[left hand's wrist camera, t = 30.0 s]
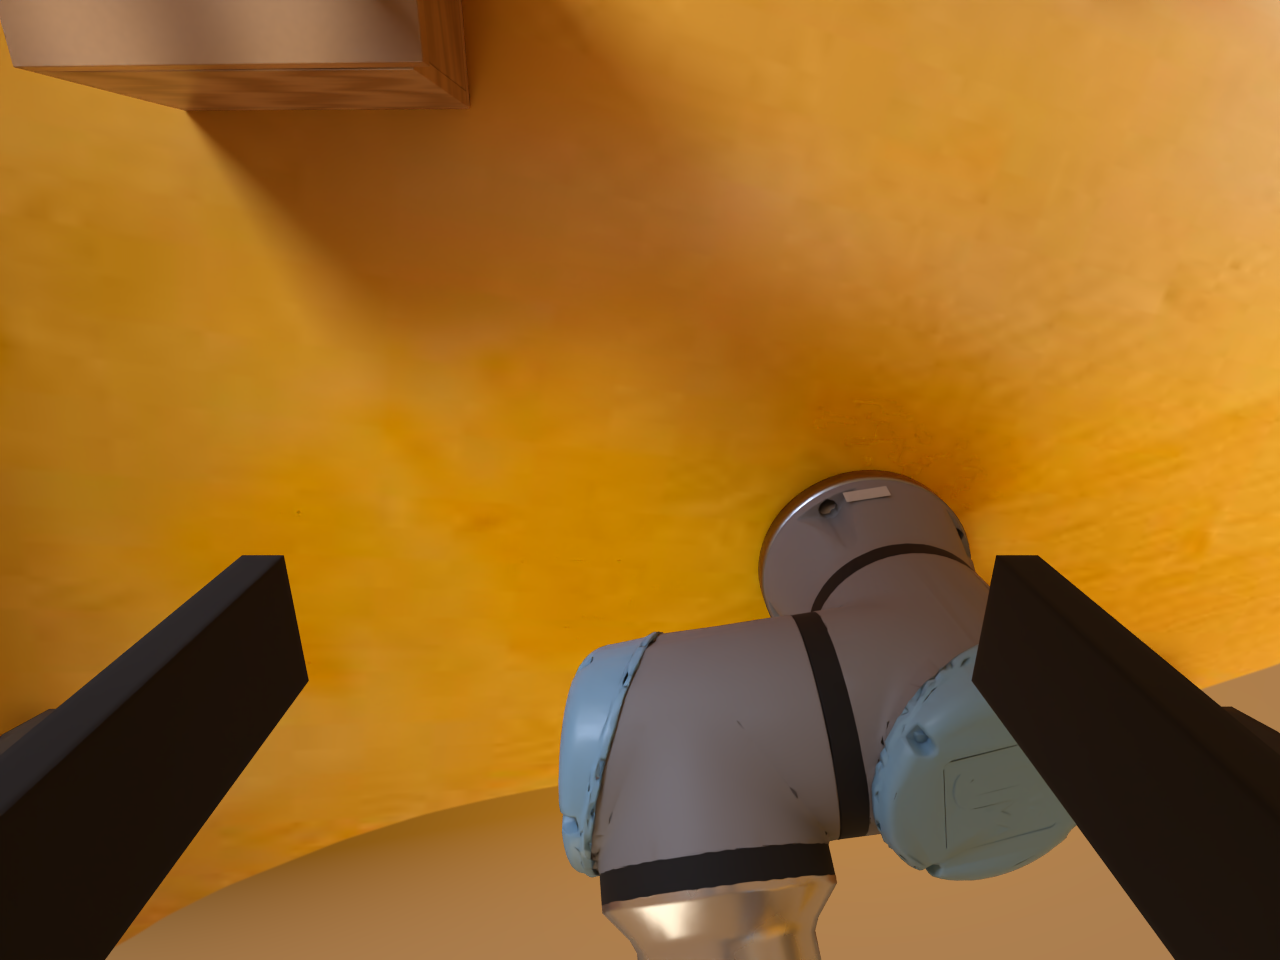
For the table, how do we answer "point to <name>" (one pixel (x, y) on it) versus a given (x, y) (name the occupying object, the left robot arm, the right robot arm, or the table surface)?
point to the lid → (213, 34)
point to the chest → (309, 79)
